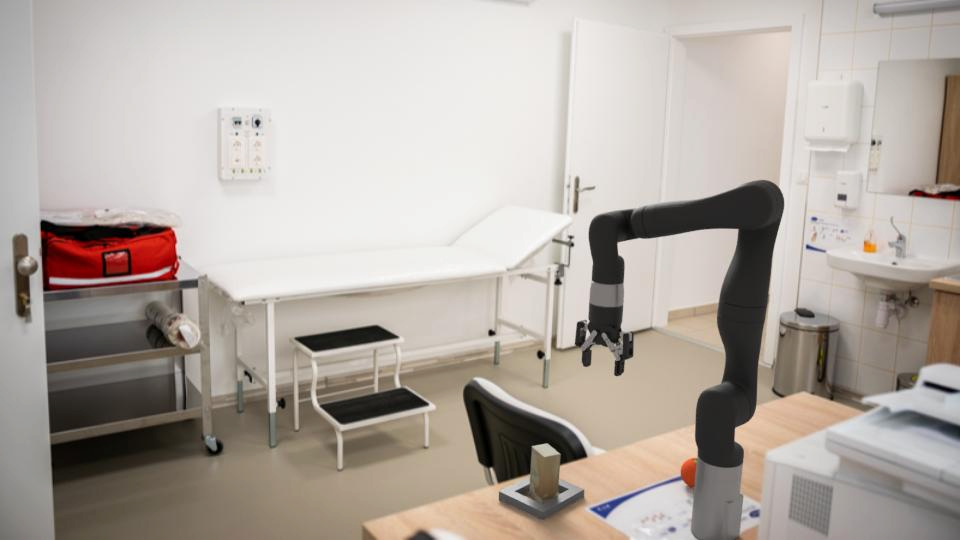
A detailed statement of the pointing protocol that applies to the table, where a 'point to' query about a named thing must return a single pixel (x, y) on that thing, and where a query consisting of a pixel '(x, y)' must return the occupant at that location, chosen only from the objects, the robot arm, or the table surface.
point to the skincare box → (544, 473)
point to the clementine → (689, 472)
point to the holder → (541, 511)
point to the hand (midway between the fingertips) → (602, 370)
